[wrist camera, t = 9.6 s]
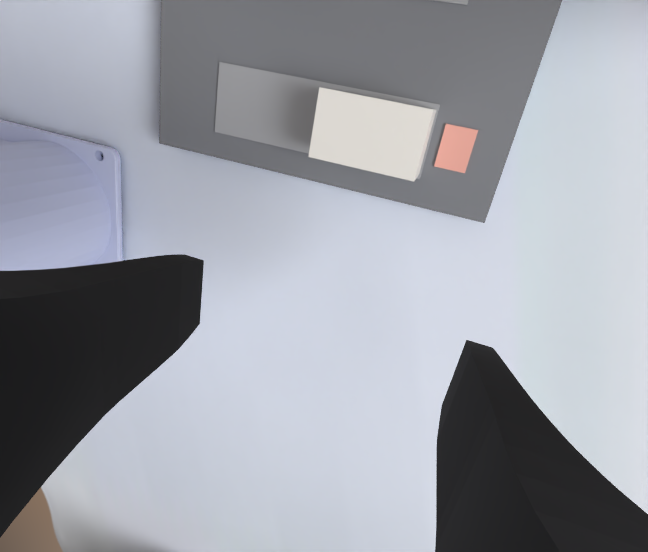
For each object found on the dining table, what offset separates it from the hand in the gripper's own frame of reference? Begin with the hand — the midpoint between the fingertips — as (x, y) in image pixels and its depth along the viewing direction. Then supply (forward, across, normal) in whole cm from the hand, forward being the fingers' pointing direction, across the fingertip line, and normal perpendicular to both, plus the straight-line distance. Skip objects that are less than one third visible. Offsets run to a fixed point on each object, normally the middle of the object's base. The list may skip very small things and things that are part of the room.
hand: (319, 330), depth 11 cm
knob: (+8, +1, -4) cm, 9 cm away
